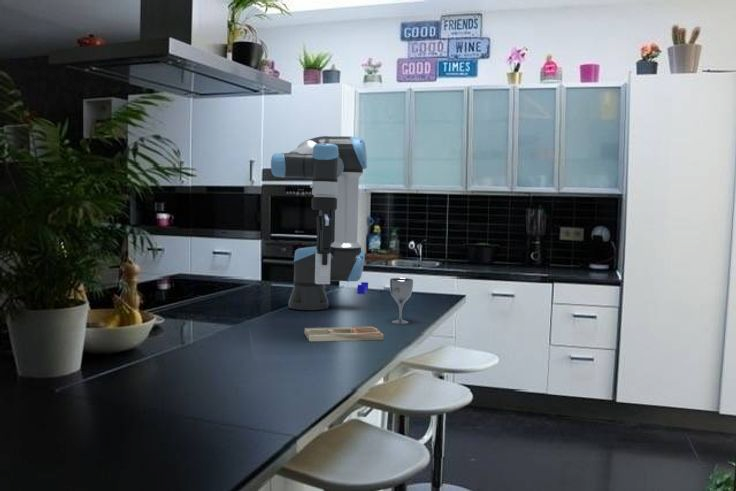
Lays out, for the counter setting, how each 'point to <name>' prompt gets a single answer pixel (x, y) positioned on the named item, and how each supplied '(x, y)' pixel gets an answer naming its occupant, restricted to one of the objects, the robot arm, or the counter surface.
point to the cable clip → (362, 288)
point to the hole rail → (343, 334)
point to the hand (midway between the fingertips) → (322, 275)
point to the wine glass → (401, 294)
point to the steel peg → (318, 278)
